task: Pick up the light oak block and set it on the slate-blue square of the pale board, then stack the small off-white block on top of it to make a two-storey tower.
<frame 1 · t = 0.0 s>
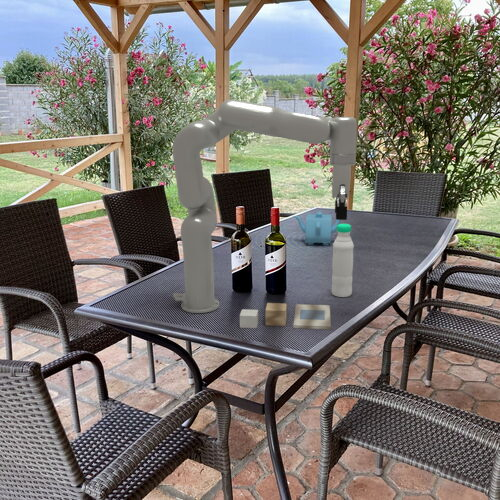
hand: (340, 216, 159), 31 cm above the table, tool pointing down, fingers open, 9 cm apart
oak block: (276, 322, 160), on the table
grey block: (249, 324, 158), on the table
teakettle: (318, 242, 252), on the table
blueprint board: (312, 317, 163), on the table
water bottle: (341, 294, 182), on the table
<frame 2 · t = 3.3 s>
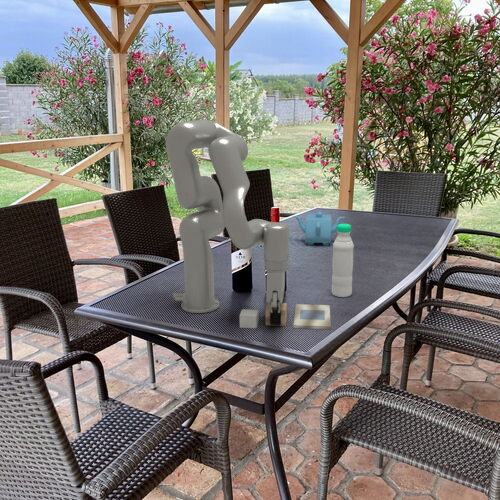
hand: (276, 319, 160), 1 cm above the table, tool pointing down, fingers closed on oak block, 6 cm apart
oak block: (276, 321, 160), on the table, touching gripper
everything else where it was.
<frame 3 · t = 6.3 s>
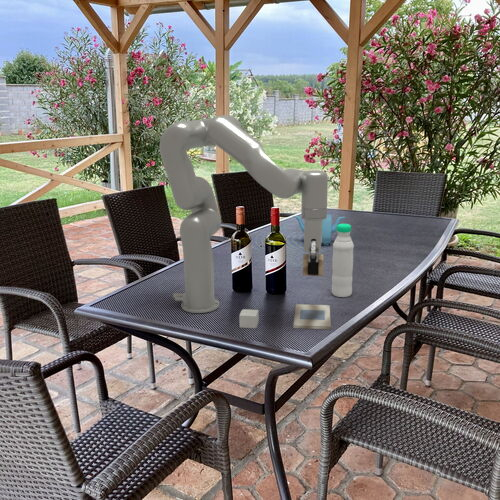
hand: (313, 270, 158), 15 cm above the table, tool pointing down, fingers closed on oak block, 6 cm apart
oak block: (313, 272, 159), point 15 cm above the table, touching gripper
everything else where it was.
when the fingers open (3 cm above the table, at t = 9.0 s): oak block drops 1 cm, resting on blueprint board.
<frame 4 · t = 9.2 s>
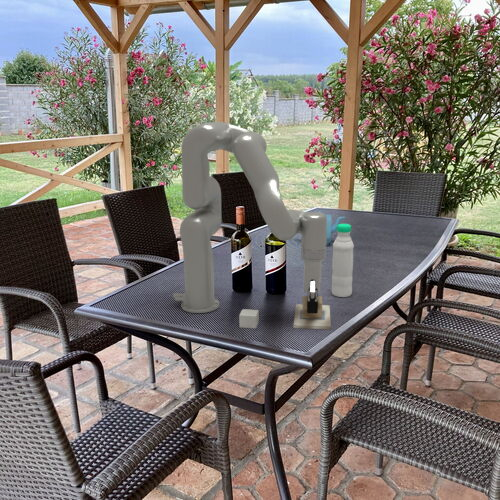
hand: (312, 307, 162), 3 cm above the table, tool pointing down, fingers open, 7 cm apart
oak block: (312, 314, 162), point 1 cm above the table, touching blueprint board
everything else where it was.
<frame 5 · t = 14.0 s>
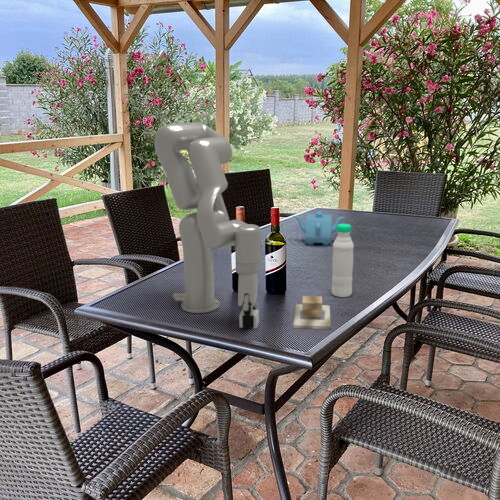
hand: (249, 322, 158), 1 cm above the table, tool pointing down, fingers closed on grey block, 5 cm apart
grey block: (249, 324, 158), on the table, touching gripper
everything else where it was.
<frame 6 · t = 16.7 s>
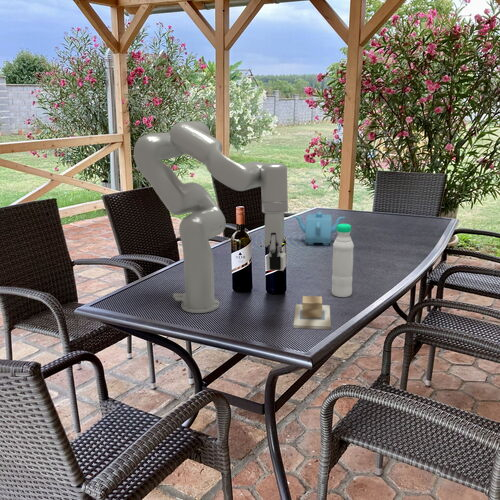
hand: (276, 266, 155), 18 cm above the table, tool pointing down, fingers closed on grey block, 5 cm apart
grey block: (276, 267, 155), point 17 cm above the table, touching gripper
everything else where it was.
when the fingers open (8 cm above the table, at t = 19.6 s): grey block drops 1 cm, resting on oak block.
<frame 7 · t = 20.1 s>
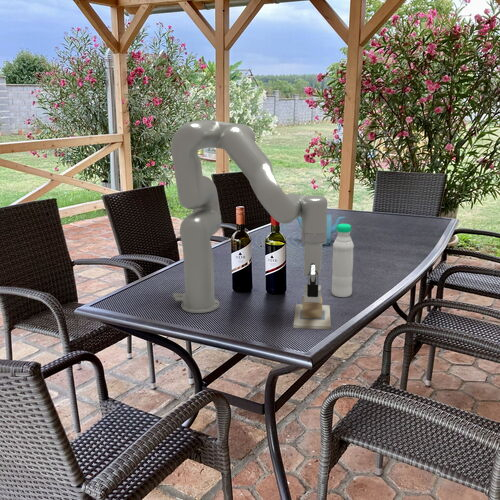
hand: (312, 291, 160), 9 cm above the table, tool pointing down, fingers open, 9 cm apart
oak block: (312, 314, 162), point 1 cm above the table, touching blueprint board, grey block
grey block: (312, 299, 161), point 6 cm above the table, touching oak block
everything else where it was.
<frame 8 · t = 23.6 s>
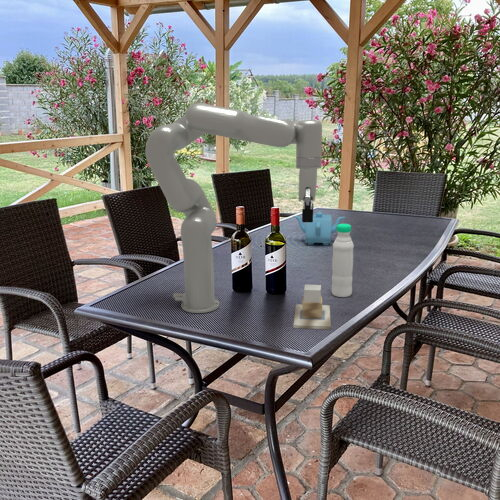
hand: (307, 218, 160), 30 cm above the table, tool pointing down, fingers open, 9 cm apart
nothing on the table moved.
at the end: oak block 0.1 cm off-centre on the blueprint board, point 1.0 cm above the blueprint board's base; grey block 0.1 cm off-centre on the oak block, point 5.0 cm above the oak block's base; grey block tilted 0° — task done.
